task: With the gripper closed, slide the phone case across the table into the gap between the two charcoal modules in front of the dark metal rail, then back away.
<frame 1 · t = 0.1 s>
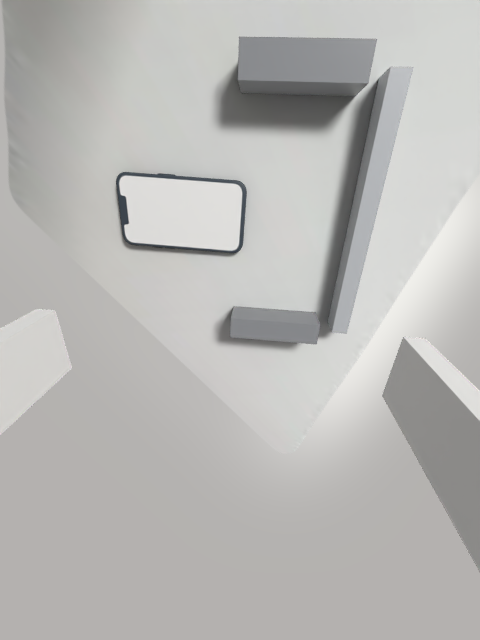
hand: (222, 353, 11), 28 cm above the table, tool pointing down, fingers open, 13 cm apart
phone case: (184, 213, 36), on the table
module rail: (284, 219, 34), on the table
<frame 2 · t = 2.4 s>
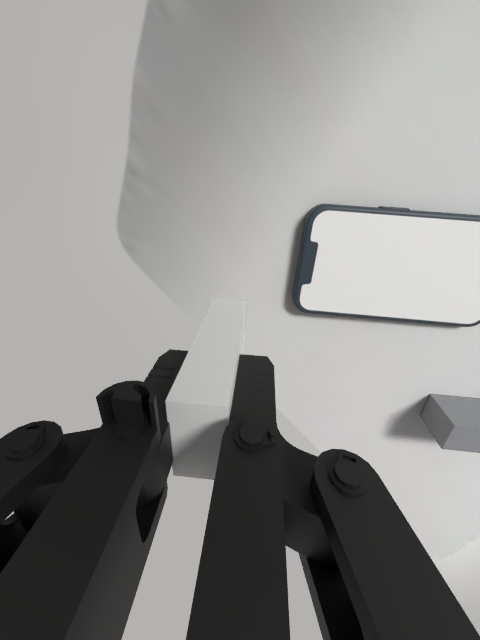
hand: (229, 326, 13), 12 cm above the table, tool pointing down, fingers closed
phone case: (394, 265, 23), on the table
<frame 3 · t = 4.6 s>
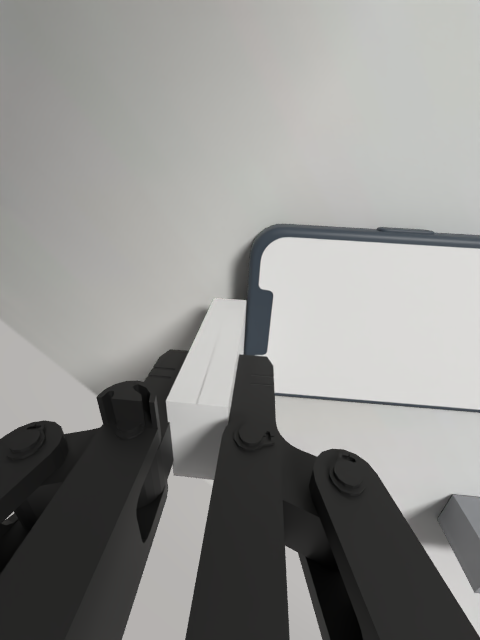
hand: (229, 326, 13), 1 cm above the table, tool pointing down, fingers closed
phone case: (404, 319, 14), on the table, touching gripper
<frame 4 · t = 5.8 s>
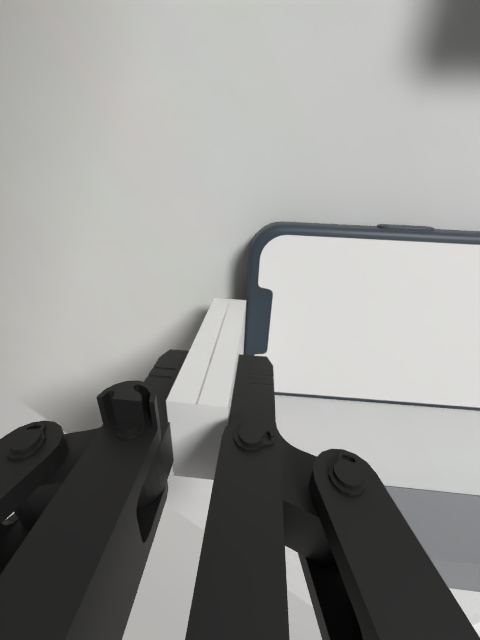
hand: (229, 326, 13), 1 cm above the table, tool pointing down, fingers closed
phone case: (406, 317, 14), on the table
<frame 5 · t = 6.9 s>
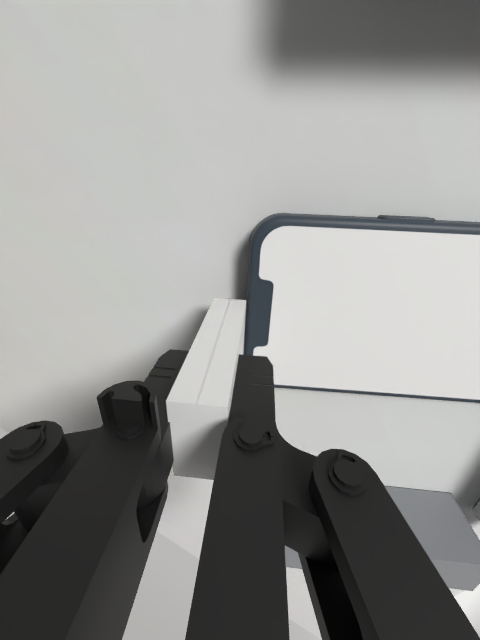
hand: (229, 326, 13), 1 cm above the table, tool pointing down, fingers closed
phone case: (406, 309, 14), on the table
module rail: (421, 324, 13), on the table
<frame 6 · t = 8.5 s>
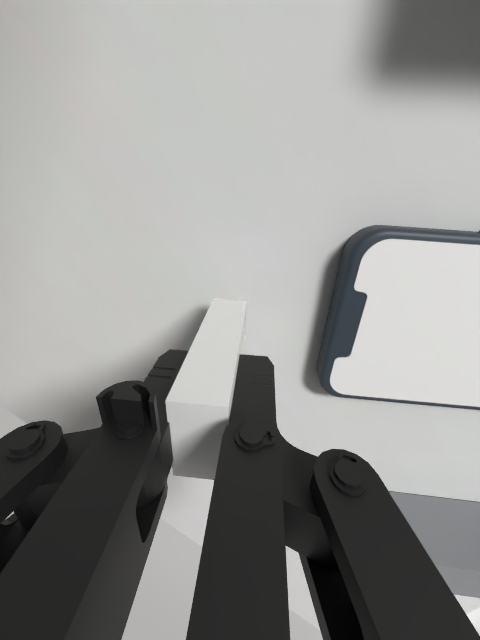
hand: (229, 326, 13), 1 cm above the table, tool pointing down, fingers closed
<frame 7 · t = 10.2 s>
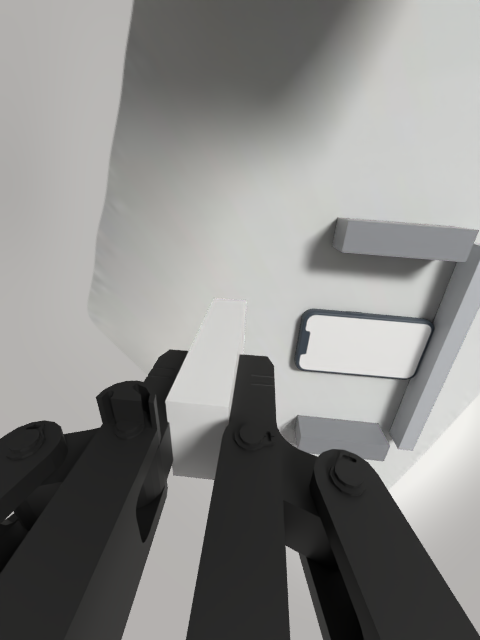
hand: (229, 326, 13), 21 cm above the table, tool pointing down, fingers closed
phone case: (358, 341, 36), on the table
module rail: (358, 347, 35), on the table
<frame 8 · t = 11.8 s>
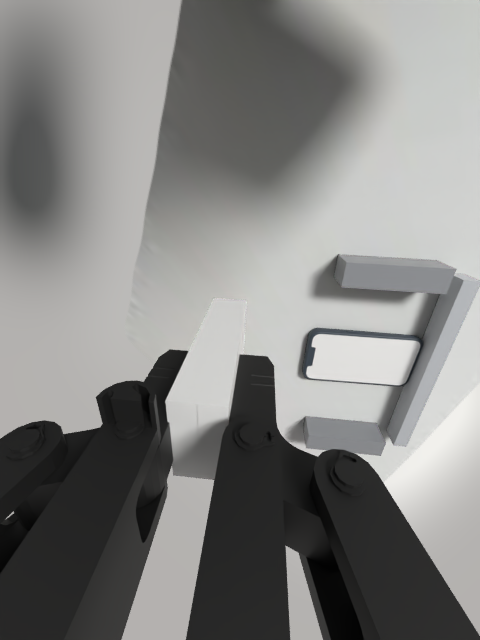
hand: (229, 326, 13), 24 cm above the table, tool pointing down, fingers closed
phone case: (357, 354, 41), on the table
module rail: (357, 359, 41), on the table
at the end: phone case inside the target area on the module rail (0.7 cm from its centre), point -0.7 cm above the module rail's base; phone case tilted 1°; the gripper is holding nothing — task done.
